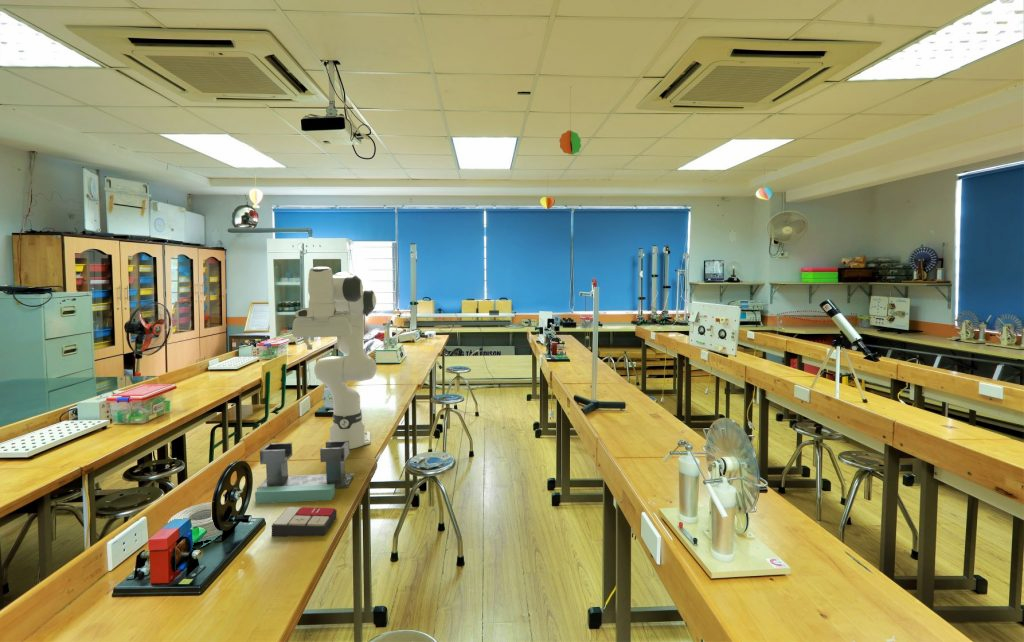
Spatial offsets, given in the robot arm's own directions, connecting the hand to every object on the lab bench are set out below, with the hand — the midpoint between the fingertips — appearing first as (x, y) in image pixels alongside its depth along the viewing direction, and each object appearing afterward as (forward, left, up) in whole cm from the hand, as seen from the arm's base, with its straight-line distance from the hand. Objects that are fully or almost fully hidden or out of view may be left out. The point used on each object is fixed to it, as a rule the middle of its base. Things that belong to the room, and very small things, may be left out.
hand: (323, 349), depth 181 cm
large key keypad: (+40, +4, -47) cm, 62 cm away
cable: (+40, -25, -47) cm, 67 cm away
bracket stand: (+9, -5, -47) cm, 48 cm away
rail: (+21, -5, -47) cm, 52 cm away
